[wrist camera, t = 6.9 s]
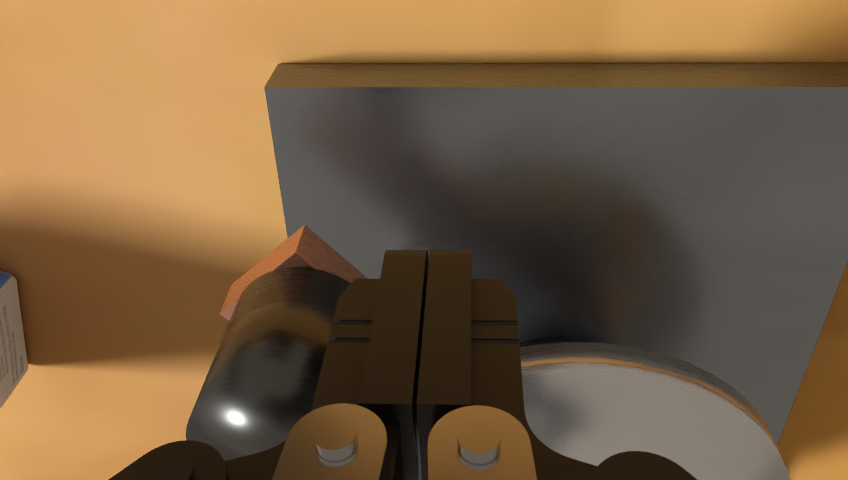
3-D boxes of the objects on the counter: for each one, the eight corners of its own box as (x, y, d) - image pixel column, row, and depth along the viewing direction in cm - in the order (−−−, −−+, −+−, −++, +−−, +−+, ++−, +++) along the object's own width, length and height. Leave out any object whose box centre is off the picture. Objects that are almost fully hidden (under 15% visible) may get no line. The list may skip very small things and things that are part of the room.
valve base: (278, 63, 19) (223, 155, 14) (883, 62, 18) (1009, 160, 14) (343, 530, 30) (323, 656, 26) (715, 542, 29) (755, 675, 25)
